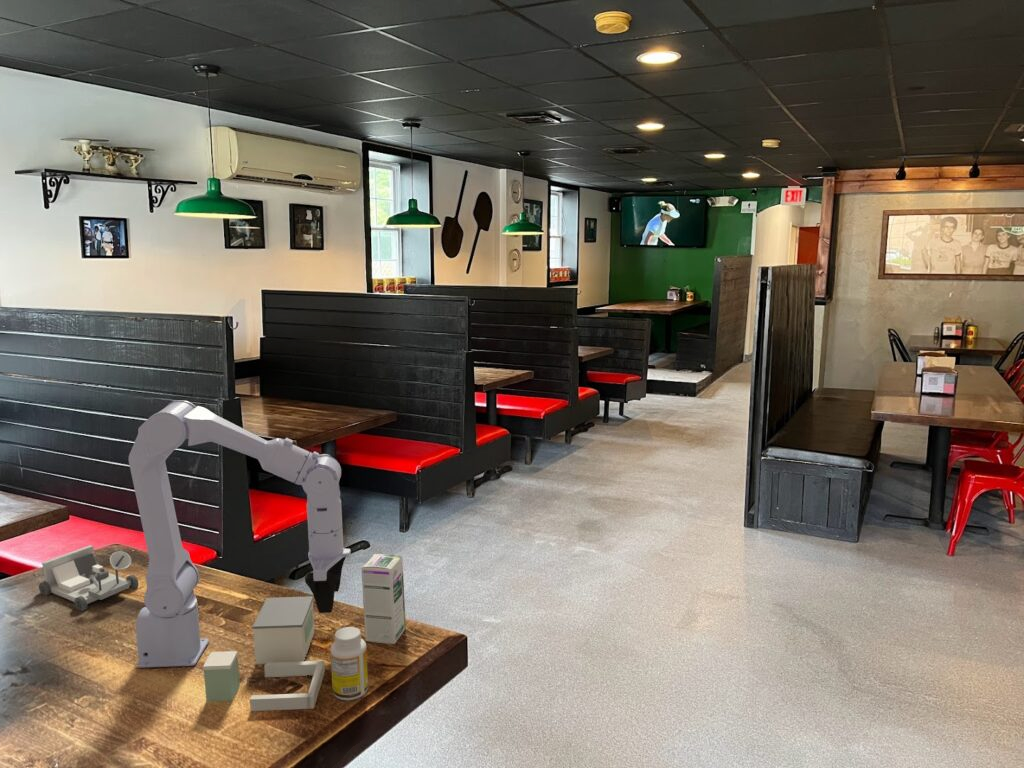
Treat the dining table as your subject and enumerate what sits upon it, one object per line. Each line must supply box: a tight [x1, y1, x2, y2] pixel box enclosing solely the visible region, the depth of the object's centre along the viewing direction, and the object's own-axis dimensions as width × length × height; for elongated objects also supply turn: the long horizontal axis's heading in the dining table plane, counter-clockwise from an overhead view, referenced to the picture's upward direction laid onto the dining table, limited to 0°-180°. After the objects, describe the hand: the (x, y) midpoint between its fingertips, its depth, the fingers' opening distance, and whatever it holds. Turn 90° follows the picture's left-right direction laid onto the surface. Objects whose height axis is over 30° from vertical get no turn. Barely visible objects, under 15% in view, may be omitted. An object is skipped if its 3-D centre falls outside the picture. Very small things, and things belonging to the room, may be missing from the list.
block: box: [202, 650, 241, 703], centre depth 120 cm, size 4×4×6 cm
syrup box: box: [360, 553, 407, 645], centre depth 136 cm, size 6×6×14 cm
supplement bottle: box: [329, 626, 369, 701], centre depth 120 cm, size 6×6×10 cm
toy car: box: [38, 544, 139, 612], centre depth 153 cm, size 18×10×12 cm
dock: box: [249, 660, 326, 712], centre depth 121 cm, size 10×10×2 cm
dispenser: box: [251, 595, 315, 665], centre depth 133 cm, size 8×10×7 cm
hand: (329, 601), depth 132 cm, fingers open, 7 cm apart
